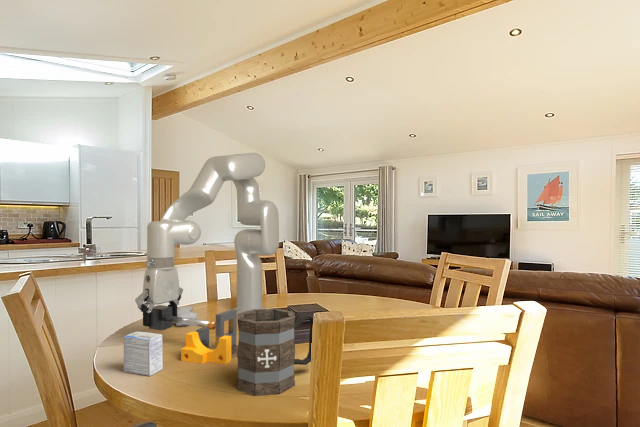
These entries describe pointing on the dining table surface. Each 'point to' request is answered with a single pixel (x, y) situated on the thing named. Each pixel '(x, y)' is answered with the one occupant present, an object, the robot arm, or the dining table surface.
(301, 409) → the dining table surface
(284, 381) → the mug
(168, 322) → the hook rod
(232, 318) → the grey square ring
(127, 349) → the medicine box
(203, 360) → the pipe clamp
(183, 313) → the light grey rounded piece
